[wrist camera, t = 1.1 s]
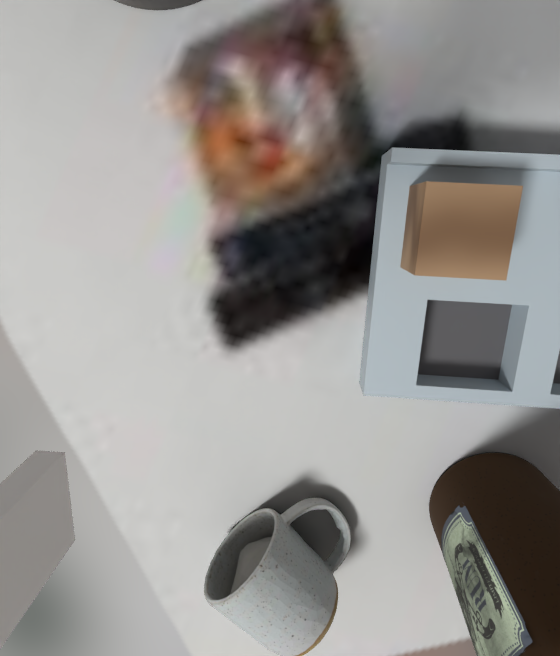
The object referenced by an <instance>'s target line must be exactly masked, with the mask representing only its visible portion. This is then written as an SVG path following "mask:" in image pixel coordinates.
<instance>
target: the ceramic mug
mask: <svg viewBox="0 0 560 656" xmlns="http://www.w3.org/2000/svg"><path fill="white" fill-rule="evenodd" d="M317 509H321V510H323V509H326V510H327V511H328V512H329V513H330V515H331V516H332V517H333V519H334V521H335V525H336V527H337V528H338V529H339V530H340V537H339V541H338V543H337V545H336V547H335V549H334V551H333V552H332V554H331V555H330V556H329V557H328V559H327V560H326V561H323V560H322V559H321V558H320V556H319V555H318V554H317V553H315V551H314V550H313V549H311V548H310V547H309V546H308V545H307V544H306V542H305V541H304V540H303V539H302V538H301V537H300V535H299V534H298V533H297V532H296V531H295V530H294V529H293V528H292V527H291V526H290V524H291V523H292V521H294V520H295V519H296V518H298V517H300V516H301V515H303V514H305V513H307V512H309V511H311V510H317ZM350 542H351V534H350V527H349V524H348V522H347V520H346V519H345V517H344V515H343V514H342V513H341V511H340V510H339V509H338V508H337V507H336V506H335V505H333V504H332V503H331V502H330V501H328V500H325V499H323V498H308V499H304V500H302V501H299V502H298V503H296V504H295V505H293V506H292V507H290V508H289V509H287V510H286V511H285V512H284V513H282V514H281V515H280V514H278V513H277V512H276V511H275V510H273V509H270V508H264V509H260V510H257V511H255V512H253V513H252V514H250V515H248V516H247V517H246V518H244V519H243V520H242V521H241V522H240V523H239V524H237V525H236V526H235V527H234V528H233V529H232V530H231V531H230V533H229V534H228V536H227V537H226V538H225V539H224V540H223V542H222V543H221V545H220V546H219V548H218V549H217V551H216V553H215V555H214V557H213V559H212V561H211V563H210V566H209V569H208V571H207V574H206V578H205V584H204V595H205V598H206V600H207V602H208V603H209V605H210V606H212V607H213V608H214V609H216V610H217V611H219V612H220V613H221V614H223V615H224V616H225V617H227V618H228V619H229V620H230V621H232V622H233V623H234V624H236V625H237V626H238V627H239V628H241V629H242V630H243V631H245V632H246V633H247V634H249V635H250V636H251V637H253V638H254V639H255V640H256V641H258V642H259V643H260V644H261V645H263V646H264V647H265V648H267V649H268V650H269V651H271V652H274V653H276V654H278V655H280V656H302V655H304V654H306V653H308V652H309V651H310V650H312V649H313V648H314V647H315V646H316V645H317V644H318V643H319V642H320V641H321V640H322V639H323V637H324V636H325V634H326V633H327V631H328V630H329V628H330V626H331V624H332V622H333V619H334V616H335V613H336V609H337V602H338V587H337V583H336V580H335V578H334V576H333V573H334V571H335V570H337V569H338V567H339V566H340V565H341V564H342V562H343V561H344V559H345V558H346V555H347V553H348V550H349V548H350Z"/></svg>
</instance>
